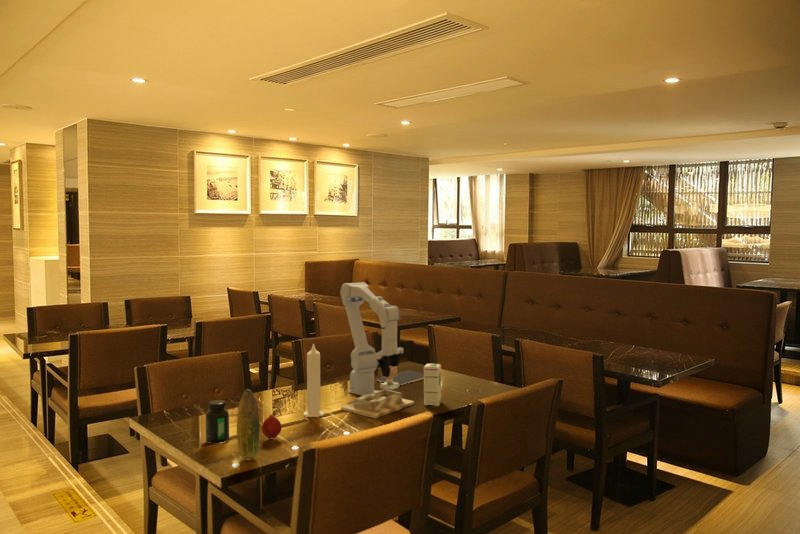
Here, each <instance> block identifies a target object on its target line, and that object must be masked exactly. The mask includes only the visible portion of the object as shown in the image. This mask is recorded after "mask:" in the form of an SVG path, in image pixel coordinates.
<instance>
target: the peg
mask: <svg viewBox="0 0 800 534" xmlns="http://www.w3.org/2000/svg"><path fill="white" fill-rule="evenodd" d="M397 373H398V368H397V366H395V365H390V366H389V375H388V377H385V378H386V382H384V383H382V382H380V384H379V387H380V389H386V390H391V391H393V390H395V389H398V388H400V386H399V383H396V382H393V378H394V377H397ZM381 377H384V376H383V375H382V374H381Z"/></svg>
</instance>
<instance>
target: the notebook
mask: <svg viewBox="0 0 800 534" xmlns="http://www.w3.org/2000/svg"><path fill="white" fill-rule="evenodd" d="M421 380H424V372H417V371H414V370H411V369H410V370H408V369H407V370H404V371H400V372H397V377H394V378H393V382H396V383H399V387H401V386H400V385H402V386H404V384H405V385H408V384H411V382H412V383H414V382H417V381H421ZM377 381H379V382H378V383H382V382H386V378H385V377H382V376H381V377H377V378H376V379H375V382H377ZM407 383H408V384H407Z"/></svg>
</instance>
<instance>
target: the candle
mask: <svg viewBox="0 0 800 534" xmlns="http://www.w3.org/2000/svg"><path fill="white" fill-rule="evenodd" d="M306 387H307V388H306V395H307V396H306V397H307V399H306V400H307V402H306V404H307V405H306V406H307V407H306V408H307V409H306V410H305V411H304V412H303V417H305V416H307V417H318V418H320V417H319V416H322V417H323V416H325V411H324V410H321V353H320V351H318V350H317V349H316V346H315V343H312V346H311V349H310V350H309V351H308V352H307V353H306ZM307 417H306V418H307Z"/></svg>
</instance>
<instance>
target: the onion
mask: <svg viewBox="0 0 800 534" xmlns="http://www.w3.org/2000/svg"><path fill="white" fill-rule="evenodd" d="M281 431H282V424H281V421H280V420H279V419H278V418H277V417H276V416H275V415H274V414H272V413H271V414H269V415H268V417H267V418H265V420H264V421H263V423H262V426H261V433H262V434H263V435H264V436H265V437H266V438H268V439H269V438H274V439H276V438H277V437H278V436H279V435H280V434H281Z"/></svg>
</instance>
